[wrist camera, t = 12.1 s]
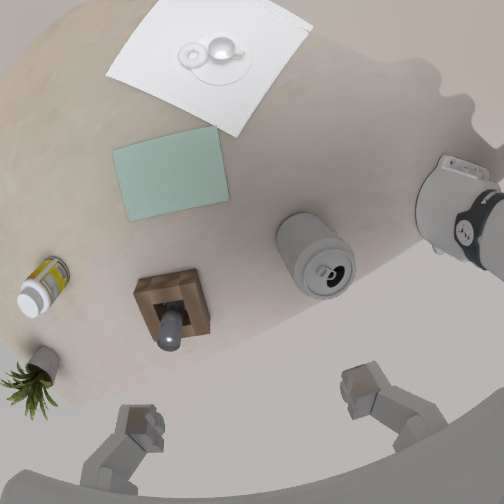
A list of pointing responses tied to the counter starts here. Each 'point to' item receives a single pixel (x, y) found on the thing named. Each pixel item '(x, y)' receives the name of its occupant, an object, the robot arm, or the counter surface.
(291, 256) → the can
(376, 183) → the counter surface
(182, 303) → the pin
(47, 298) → the supplement bottle
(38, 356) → the house plant
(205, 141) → the mat
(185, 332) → the hole block
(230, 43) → the teacup and saucer
